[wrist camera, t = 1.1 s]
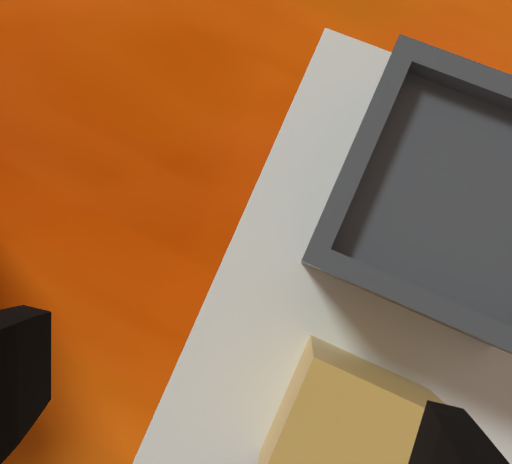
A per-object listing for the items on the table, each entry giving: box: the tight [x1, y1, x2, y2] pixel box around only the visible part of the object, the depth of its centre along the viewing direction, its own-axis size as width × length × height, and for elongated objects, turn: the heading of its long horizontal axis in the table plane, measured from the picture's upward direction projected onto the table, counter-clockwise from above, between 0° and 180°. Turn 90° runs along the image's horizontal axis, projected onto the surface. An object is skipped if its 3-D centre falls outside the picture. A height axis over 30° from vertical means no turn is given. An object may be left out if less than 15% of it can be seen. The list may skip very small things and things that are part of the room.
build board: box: [133, 28, 512, 464], centre depth 19 cm, size 20×14×1 cm
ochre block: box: [257, 335, 445, 464], centre depth 16 cm, size 5×5×5 cm
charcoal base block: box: [301, 34, 512, 354], centre depth 17 cm, size 8×8×4 cm
